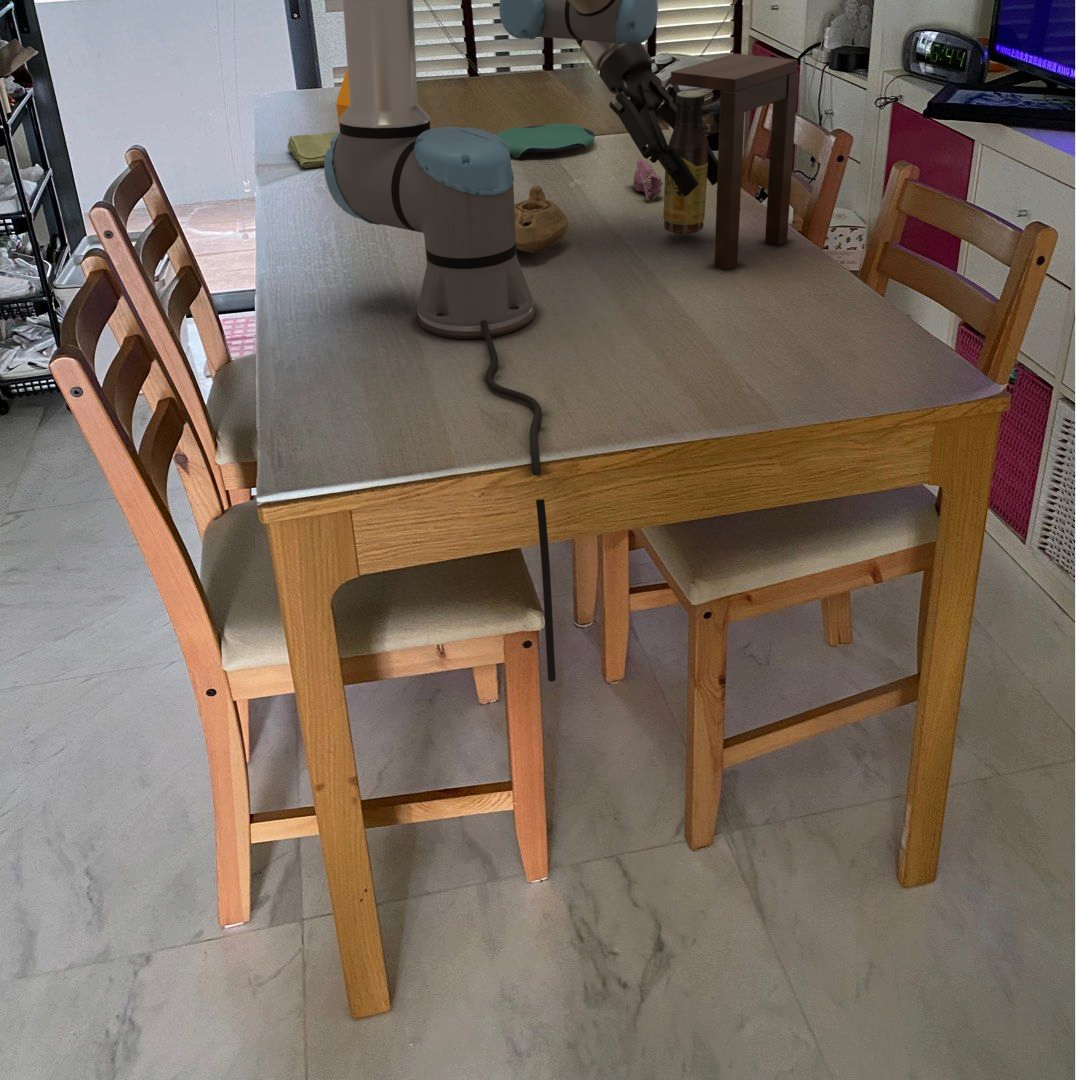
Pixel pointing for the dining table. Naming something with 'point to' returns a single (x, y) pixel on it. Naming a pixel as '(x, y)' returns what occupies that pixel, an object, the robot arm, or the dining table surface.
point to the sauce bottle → (693, 150)
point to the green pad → (546, 138)
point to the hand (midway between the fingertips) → (705, 184)
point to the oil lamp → (538, 222)
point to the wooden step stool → (742, 90)
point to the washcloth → (310, 148)
